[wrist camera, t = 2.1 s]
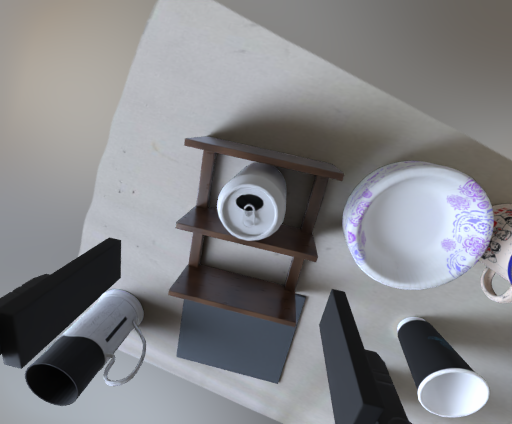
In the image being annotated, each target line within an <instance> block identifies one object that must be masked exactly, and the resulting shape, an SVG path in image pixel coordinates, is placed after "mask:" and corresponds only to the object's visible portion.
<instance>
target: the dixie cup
mask: <svg viewBox="0 0 512 424" xmlns="http://www.w3.org/2000/svg"><path fill="white" fill-rule="evenodd" d="M397 332H398V338H399V341H400V344H401V347H402V349H403V352H404V355H405V357H406V360H407V363H408V366H409V368H410V371H411V374H412V377H413V379H414V382H415V385H416V387H417V390H418V399H419V401H420V403H421V405H422V406H423V407H424V408H425V409H426V410H428V411H429V412H431V413H433V414H435V415H438V416H442V417H450V418H455V417H463V416H467V415H470V414H473V413H475V412H477V411H478V410H480V409H481V408H482V407H483V406H484V405H485V404H486V402H487V401H488V399H489V395H490V389H489V386H488V384H487V382H486V381H485V380H484V379H483V378H482V377H481V376H480V375H478V374H477V373H475V372H474V371H473V370H472V369H471V367H470V366H469V365H468V364H467V363H466V362H465V361H464V360H463V359H462V358H461V357H460V355H459V354H458V353H457V352H456V351H455V350H454V349H453V348H452V347H451V346H450V345H449V344H448V342H447V341H446V340H445V339H444V338H443V337H442V336H441V335H440V334H439V333H438V332H437V331H436V329H435V328H434V327H433V326H432V325H431V324H430V323H428V322H426V321H425V320H424V319H422V318H420V317H408V318H405V319H403V320H402V321H401V322H400V323H399V324H398V327H397Z"/></svg>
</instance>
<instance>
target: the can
mask: <svg viewBox="0 0 512 424" xmlns="http://www.w3.org/2000/svg"><path fill="white" fill-rule="evenodd" d="M217 209H218V215H219V218H220V220H221V222H222V224H223V226H224V227H225V228H226V229H227V230H228V231H229V232H230V233H231V234H232V235H234V236H235V237H237V238H239V239H243V240H247V241H251V240H261V239H264V238H266V237H269V236H271V235H272V234H273V233H274V232H276V231H277V230H278V228H279V227H280V225H281V224H282V222H283V220H284V216H285V212H286V182H285V180H284V177H283V175H282V174H281V173H280V172H279V170H278V169H277V168H275V167H273V166H272V165H269V164H264V163H253V164H250V165H248V166H246V167H245V168H244V169H242V170H241V171H240V172H239V173H238V174H237V175H236V176H235V177H234V178H233V179H231V180H230V181H229V182H228V183H227V184H226V185H225V186H224V187H223V189H222V191H221V192H220V194H219V197H218V203H217Z"/></svg>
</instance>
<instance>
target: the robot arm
mask: <svg viewBox="0 0 512 424" xmlns="http://www.w3.org/2000/svg"><path fill="white" fill-rule="evenodd" d="M120 278H121V240H118V239H113V238H108V239H106V240H105V241H103V242H101V243H100V244H98V245H97V246H95V247H94V248H92V249H90V250H89V251H87V252H86V253H84V254H82V255H81V256H79V257H78V258H76V259H75V260H73V261H71V262H70V263H68V264H67V265H65V266H64V267H62V268H60V269H59V270H57V271H56V272H54V273H53V274H51V275H49V274H44V275H41V276H39V277H36V278H33V279H32V280H30V281H28V282H26V283H25V284H23V285H22V286H21V287H18V288H16V289H15V290H13V292H10V293H8V294H7V295H5V296H4V297H1V298H0V355H1V354H2V356H3V361H4V364H6V365H9V366H13V367H17V368H21V369H22V368H23V367H24V366H25V365H26V364H27V363H28V362H29V361H31V360H32V359H33V358H34V357H35V356H36V355H37V354H38V353H39V352H40V351H41V350H43V348H44V347H46V346H47V345H48V344H49V343H50V342H51V341H52V340H53V339H54V338H56V337H57V336H58V335H59V334H60V333H61V332H62V331H63V330H64V329H65V328H66V327H68V326H69V325H70V324H71V323H72V322H73V321H74V320H75V319H76V318H77V317H78V316H80V315H81V314H82V313H83V312H84V311H85V310H86V309H87V308H88V307H89V306H90V305H91V304H93V303H94V302H95V301H96V300H97V299H98V298H99V297H100V296H101V295H102V294H103V293H105V292H106V291H107V290H108V289H109V288H110V287H111V286H112V285H113V284H114V283H115V282H116V281H118V280H119V279H120ZM319 326H320V333H321V339H322V345H323V351H324V357H325V363H326V370H327V376H328V382H329V388H330V394H331V400H332V407H333V413H334V419H335V424H412V423H411V422H409V420H408V418H407V416H406V414H405V411H404V409H403V406H402V404H401V401H400V399H399V396H398V394H397V392H396V389H395V387H394V385H393V382H392V379H391V377H390V376H389V372H388V370H387V367H386V365H385V363H384V361H383V360H382V359H381V357H380V356H379V355H378V354H377V352H373V351H369V350H365V349H364V346H363V343H362V341H361V338H360V335H359V332H358V329H357V326H356V323H355V320H354V317H353V315H352V312H351V309H350V306H349V303H348V300H347V297H346V294H345V292H343V291H339V290H335V289H332V290H331V293H330V296H329V298H328V301H327V304H326V307H325V310H324V313H323V316H322V319H321V321H320V324H319Z"/></svg>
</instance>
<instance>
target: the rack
mask: <svg viewBox="0 0 512 424" xmlns="http://www.w3.org/2000/svg"><path fill="white" fill-rule="evenodd" d="M184 145H185V146H189V147H193V148H198V149H202V150H204V151H203V159H202V166H201V174H200V181H199V189H198V197H197V204H196V206H195V207H194V208H193V209H192V210H190V211H189V212H188V213H187V214H186V215H184V216H183V217H182V218H181V219H180V220H178V221H177V222H176V227H175V228H177V229H181V230H185V231H190V232H193V234H192V242H191V250H190V257H189V264H188V265H187V266H186V268H185V269H184V271H183V272H182V273H181V275H180V276H179V277H178V279H177V280H176V281H175V283H174V284H173V285H172V287H171V288H170V290H169V293H168V295H170V296H174V297H178V298H182V299H186V300H190V301H194V302H198V303H202V304H206V305H209V306H213V307H217V308H221V309H225V310H229V311H233V312H237V313H241V314H245V315H249V316H252V317H256V318H260V319H264V320H268V321H272V322H276V323H280V324H284V325H288V326H291V327H295V326H296V297H295V288H296V284H297V281H298V278H299V275H300V271H301V268H302V265H303V261H304V259H305V260H309V261H313V262H316V261H317V258H318V255H317V251H316V246H315V242H314V237H313V233H312V232H313V228H314V225H315V222H316V219H317V215H318V212H319V209H320V205H321V202H322V199H323V195H324V192H325V189H326V186H327V182H328V179H329V178H331V179H336V180H340V181H342V180H343V177H344V173H342V172H341V171H340V170H339V169H338V168H337V167H335V166H334V165H333V164H330V163H326V162H321V161H317V160H312V159H308V158H303V157H299V156H294V155H290V154H285V153H281V152H276V151H272V150H267V149H263V148H258V147H254V146H249V145H245V144H240V143H236V142H231V141H227V140H222V139H218V138H213V137H209V136H204V137H195V138H186V139H185V144H184ZM217 153H220V154H224V155H229V156H233V157H238V158H242V159H247V160H251V161H256V162H260V163H264V164H269V165H273V166H278V167H282V168H287V169H291V170H296V171H300V172H304V173H309V174H313V175H316V177H315V181H314V184H313V188H312V191H311V195H310V198H309V202H308V205H307V209H306V212H305V216H304V219H303V223H302V226H301V229H299V228H295V227H291V226H287V225H282V224H281V225H280V227H279V228H278V230H277V231H276V232H274V233H273V234H272V235H271V236H269V237H266V238H264V239H261V240H251V241H247V240H243V239H239V238H237V237H235V236H234V235H232V234H231V233H230V232H229V231H228V230H227V229H226V228H225V227H224V226H223V224H222V222H221V220H220V218H219V215H218V209H215V208H210V207H209V201H210V194H211V187H212V180H213V174H214V167H215V160H216V154H217ZM204 235H206V236H210V237H214V238H218V239H223V240H227V241H231V242H235V243H239V244H243V245H247V246H251V247H256V248H260V249H264V250H268V251H272V252H276V253H280V254H285V255H289V256H293V258H292V261H291V265H290V268H289V272H288V275H287V279H286V282H285V286H284V285H280V284H276V283H272V282H268V281H264V280H260V279H256V278H252V277H248V276H244V275H240V274H236V273H232V272H228V271H224V270H220V269H216V268H212V267H208V266H204V265H200V261H201V254H202V247H203V241H204Z"/></svg>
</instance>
